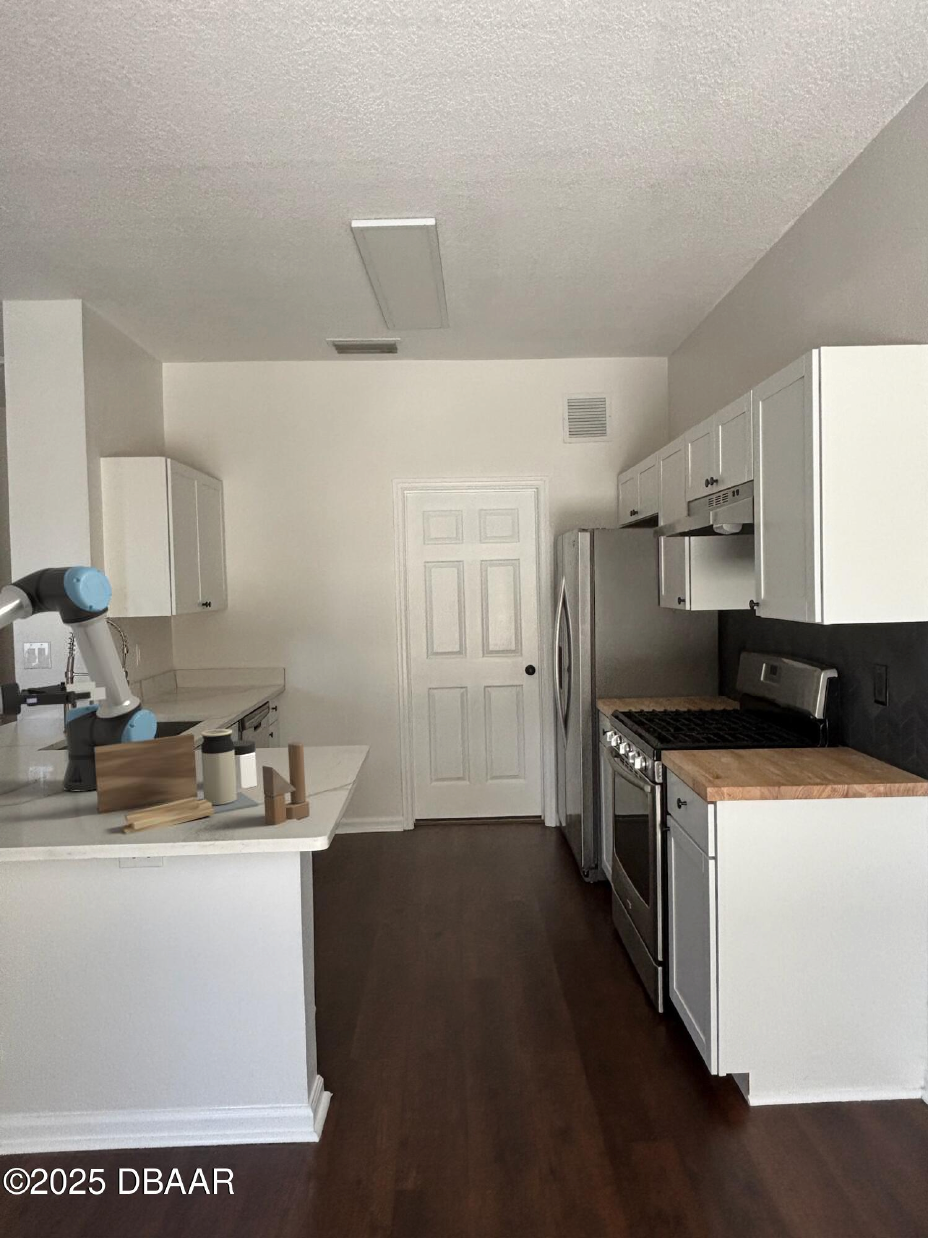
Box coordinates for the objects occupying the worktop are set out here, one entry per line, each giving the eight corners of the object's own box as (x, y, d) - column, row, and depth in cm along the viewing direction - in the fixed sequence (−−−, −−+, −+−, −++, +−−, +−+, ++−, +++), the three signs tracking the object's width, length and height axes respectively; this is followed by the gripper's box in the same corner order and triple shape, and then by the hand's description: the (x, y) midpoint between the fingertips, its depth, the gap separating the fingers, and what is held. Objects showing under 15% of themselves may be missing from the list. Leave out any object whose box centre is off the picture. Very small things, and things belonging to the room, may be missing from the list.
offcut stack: (121, 831, 194) (119, 815, 193) (207, 809, 205) (205, 793, 204) (127, 837, 189) (124, 820, 189) (214, 814, 200) (212, 798, 199)
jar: (220, 788, 229) (217, 745, 228) (236, 781, 237) (234, 739, 236) (248, 790, 226) (246, 746, 226) (264, 782, 234) (262, 740, 234)
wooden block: (264, 825, 194) (261, 749, 193) (300, 814, 202) (296, 740, 201) (275, 828, 192) (271, 751, 191) (310, 816, 200) (306, 742, 199)
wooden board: (97, 813, 209) (92, 746, 208) (194, 796, 222) (190, 732, 221) (99, 816, 206) (95, 748, 205) (197, 799, 219) (193, 734, 218)
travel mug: (219, 807, 206) (215, 735, 205) (197, 803, 210) (193, 733, 209) (243, 799, 213) (239, 730, 212) (222, 796, 217) (218, 727, 216)
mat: (187, 806, 213) (186, 801, 213) (240, 796, 220) (240, 792, 220) (202, 819, 201) (202, 814, 201) (258, 808, 209) (258, 803, 209)
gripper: (-3, 709, 201) (92, 699, 212) (5, 724, 180) (110, 711, 191) (-5, 679, 200) (90, 670, 212) (3, 689, 179) (108, 679, 191)
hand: (100, 690), depth 202 cm, fingers open, 13 cm apart
